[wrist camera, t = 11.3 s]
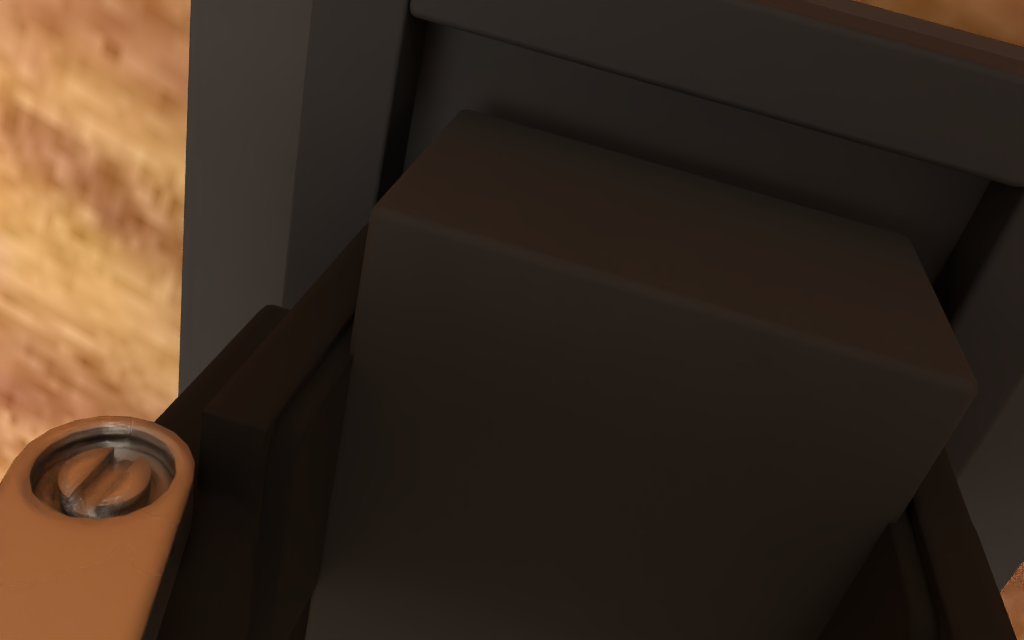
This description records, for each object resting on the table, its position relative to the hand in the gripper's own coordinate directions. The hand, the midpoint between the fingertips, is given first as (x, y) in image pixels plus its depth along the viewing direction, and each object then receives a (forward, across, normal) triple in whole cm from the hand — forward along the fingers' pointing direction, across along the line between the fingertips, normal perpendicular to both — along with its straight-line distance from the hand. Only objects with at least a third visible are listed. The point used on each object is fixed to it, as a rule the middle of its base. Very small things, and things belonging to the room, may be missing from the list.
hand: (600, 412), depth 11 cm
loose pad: (+1, 0, 0) cm, 1 cm away
